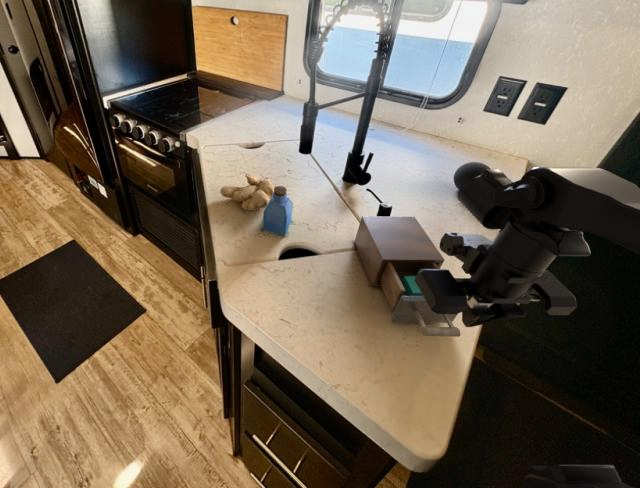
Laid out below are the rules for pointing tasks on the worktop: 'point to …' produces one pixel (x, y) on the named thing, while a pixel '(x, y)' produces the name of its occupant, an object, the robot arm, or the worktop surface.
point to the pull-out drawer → (413, 300)
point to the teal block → (410, 286)
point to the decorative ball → (468, 173)
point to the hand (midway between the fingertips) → (466, 324)
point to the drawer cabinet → (393, 243)
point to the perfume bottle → (278, 212)
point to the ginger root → (251, 193)
